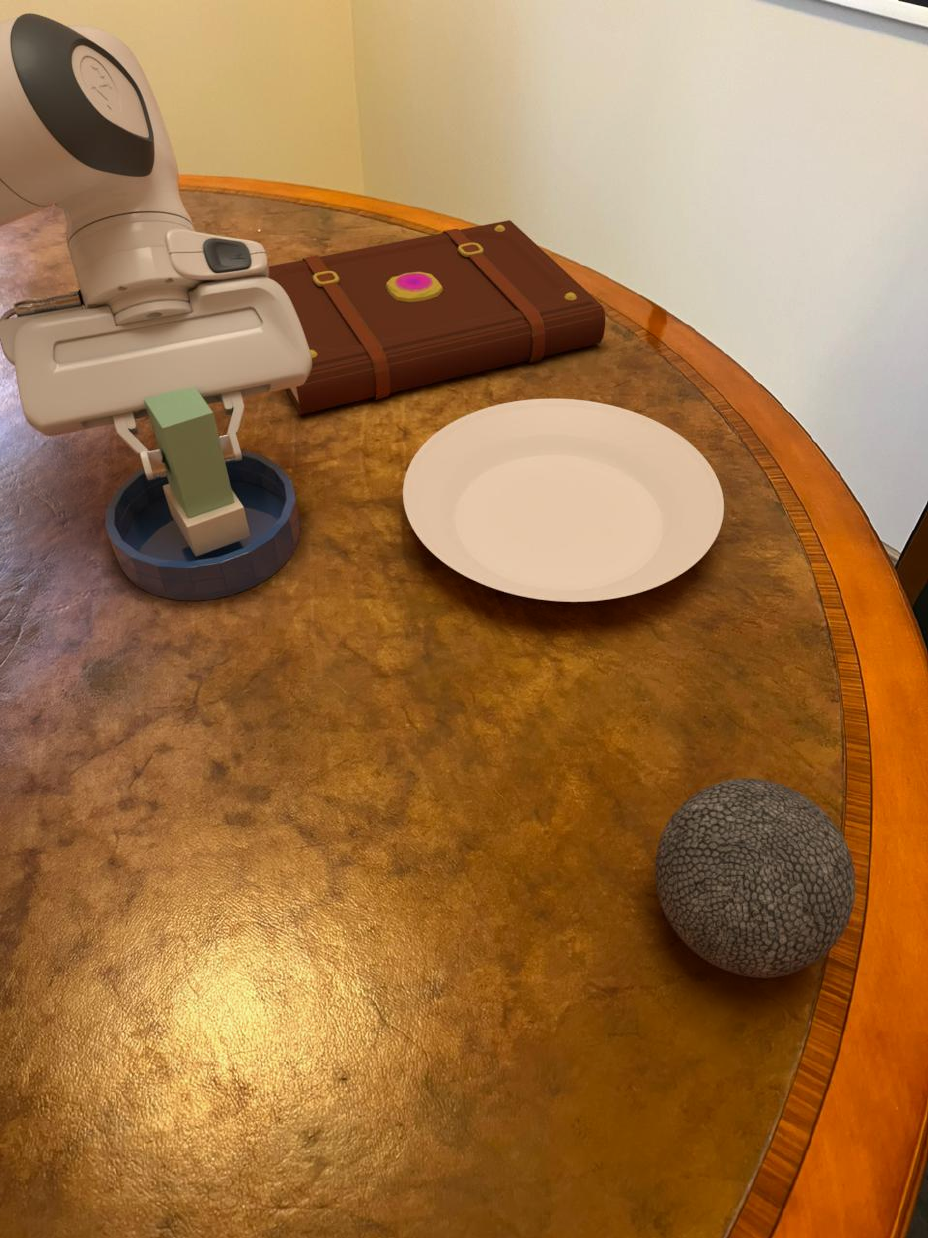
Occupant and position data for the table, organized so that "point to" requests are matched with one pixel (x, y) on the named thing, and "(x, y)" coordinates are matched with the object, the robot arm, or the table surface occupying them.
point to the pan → (175, 572)
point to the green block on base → (196, 471)
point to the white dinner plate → (563, 500)
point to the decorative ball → (755, 878)
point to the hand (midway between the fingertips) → (195, 469)
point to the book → (431, 312)
